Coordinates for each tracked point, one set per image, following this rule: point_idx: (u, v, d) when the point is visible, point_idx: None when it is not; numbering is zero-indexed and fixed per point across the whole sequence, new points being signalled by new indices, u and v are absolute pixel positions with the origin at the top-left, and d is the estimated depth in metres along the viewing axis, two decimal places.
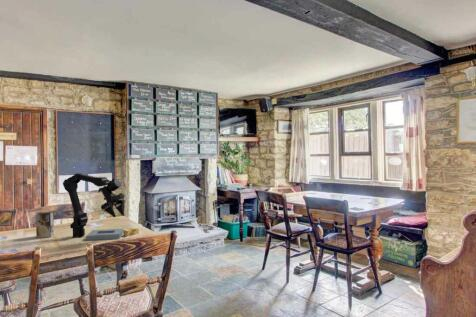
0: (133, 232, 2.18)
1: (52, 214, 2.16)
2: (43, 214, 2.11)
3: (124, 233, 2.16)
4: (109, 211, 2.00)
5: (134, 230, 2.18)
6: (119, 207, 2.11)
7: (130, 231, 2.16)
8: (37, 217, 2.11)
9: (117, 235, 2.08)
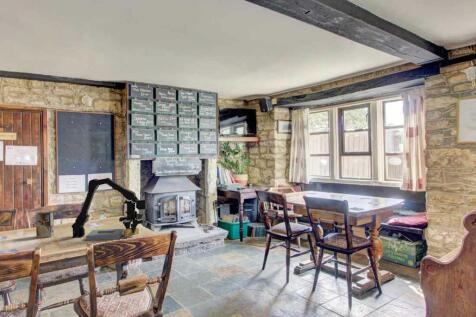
0: None
1: (52, 214, 2.16)
2: (43, 214, 2.11)
3: (124, 233, 2.16)
4: (133, 226, 2.16)
5: None
6: (128, 224, 2.20)
7: (130, 231, 2.16)
8: (37, 217, 2.11)
9: (117, 235, 2.08)
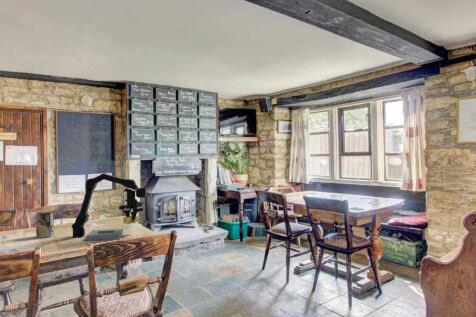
0: None
1: (52, 214, 2.16)
2: (43, 214, 2.11)
3: (124, 220, 2.16)
4: (133, 214, 2.16)
5: None
6: (128, 212, 2.20)
7: (130, 219, 2.15)
8: (37, 217, 2.11)
9: (117, 235, 2.08)
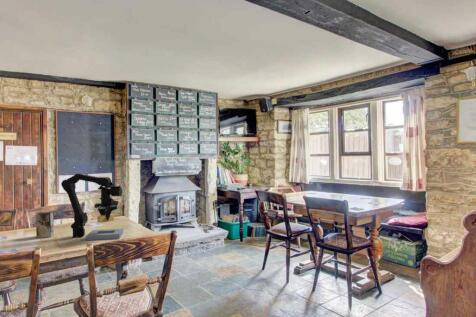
0: None
1: (52, 214, 2.16)
2: (43, 214, 2.11)
3: (98, 219, 2.11)
4: (107, 213, 2.10)
5: None
6: (103, 210, 2.15)
7: (103, 217, 2.10)
8: (37, 217, 2.11)
9: (117, 235, 2.08)
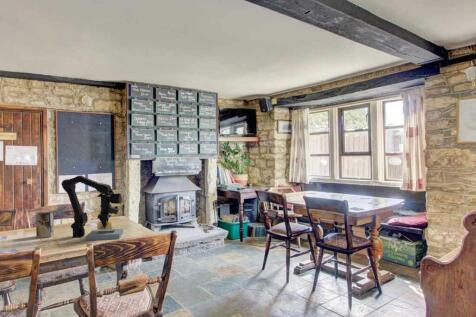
0: None
1: (52, 214, 2.16)
2: (43, 214, 2.11)
3: None
4: (102, 221, 2.10)
5: (106, 224, 2.11)
6: None
7: (100, 224, 2.11)
8: (37, 217, 2.11)
9: (117, 235, 2.08)
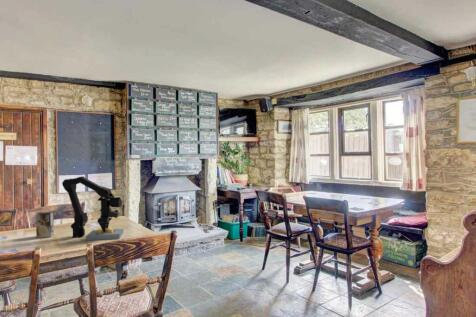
0: (104, 232, 2.11)
1: (52, 214, 2.16)
2: (43, 214, 2.11)
3: None
4: (102, 225, 2.08)
5: (106, 231, 2.12)
6: None
7: (101, 231, 2.11)
8: (37, 217, 2.11)
9: (117, 235, 2.08)
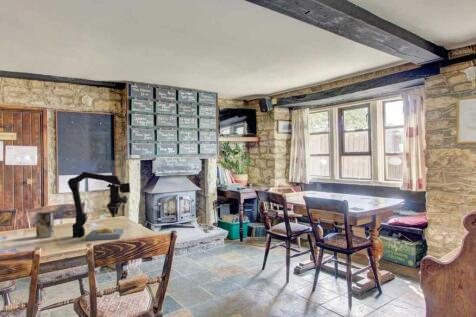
0: (104, 232, 2.11)
1: (52, 214, 2.16)
2: (43, 214, 2.11)
3: None
4: (111, 210, 2.14)
5: (106, 231, 2.12)
6: None
7: (101, 231, 2.11)
8: (37, 217, 2.11)
9: (117, 235, 2.08)
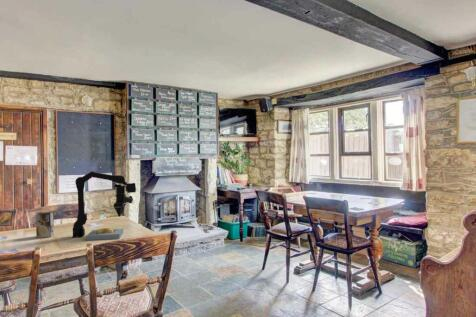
0: (104, 232, 2.11)
1: (52, 214, 2.16)
2: (43, 214, 2.11)
3: None
4: (117, 210, 2.19)
5: (106, 231, 2.12)
6: None
7: (101, 231, 2.11)
8: (37, 217, 2.11)
9: (117, 235, 2.08)
